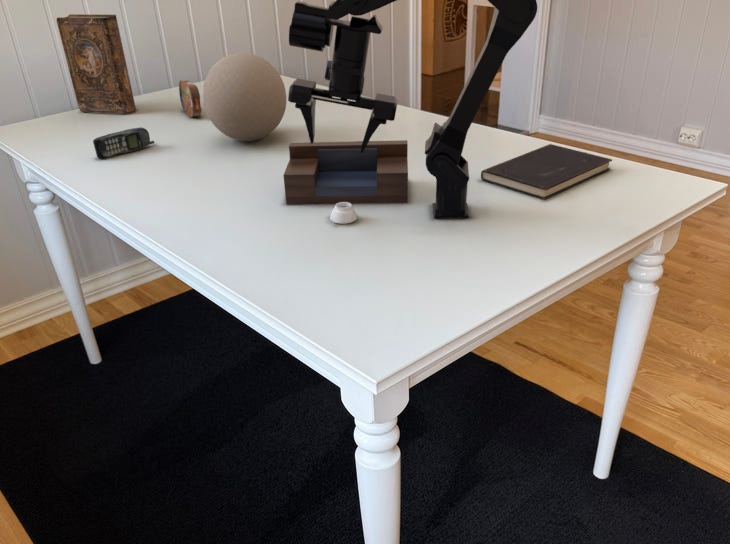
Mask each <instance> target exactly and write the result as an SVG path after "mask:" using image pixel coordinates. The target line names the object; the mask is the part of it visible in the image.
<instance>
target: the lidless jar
mask: <svg viewBox="0 0 730 544" xmlns="http://www.w3.org/2000/svg"><path fill="white" fill-rule="evenodd" d="M352 205H353V204H352V203H348V202H339V203H337V204H335V205H334V207H333V209H332V211H331V213H330V215H329V217H330V221H331V222H333V223H336V224H338V225H339V224H340V225H347V224H351V223H353V222H355V221H357V219H358V214H357V212H356V210H355V208H354V207H353V206H352Z"/></svg>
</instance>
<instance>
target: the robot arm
mask: <svg viewBox="0 0 730 544" xmlns="http://www.w3.org/2000/svg"><path fill="white" fill-rule="evenodd" d="M397 1H398V0H335V1H333V0H332V1H331V2H330V4H328V7H326V6H325V7H324V6H319V5H314V4H309V3H307V2H306V1H301V0H297V1H296V2H295V3H294V9H293V13H292V18H291V23H290V25H289V30H288V44H289V45H288V46H291V47H294V48H301V49H305V50H310V51H316V52H321V53H323V52H324V50H325V48H326V47H329V48H330V47H331V44H332V42H333V34H334V27H335V26H336V28H335V37H334V43H333V44H334V45H333V53H332V59H331V60H327V61H326V65H325V71H324V80H325V81H329V83H328V89H323V88H319V87H317V81H313V80H309V79H303V78H299V77H298V78H296V79H294V80H293V81H292V83H291V84H290V85H289V89H288V96H287V97H288V98H287V101H288V102H289V103H293V104H295V105H294V108H296V109H299V110H300V112H301V115H302V117H303V120H304V122H305V126H306V129H307V134H308V138H309V142H311V144H313V142H315V136H316V135H315V133H316V104H317V101H321V102H326V103H331V104H336V105H343V106H347V107H353V108H358V109H365V110H369V111H371V113H370V116H369V120H368V123H367V126H366V129H365V133H364V136H363V139H362V141H363V142H362V146H361V153H363V151H364V150H365V148H366V146H367V144H368V142H369V141H371V139H372V136H373V135H374V134H375V132H376V130H377V129H378V128H379V127H380V125H386V124H387V121H389V122H392V121H393V122H394V121H395V119H396V113H397V109H398V108H397V107H398V103H399V100H398V98H397V97H396V96H394V95H390V94H383V93H378V92H376V94H375V98H371V97H367V96H362V95H363V91H364V86H365V71H366V65H367V60H368V59H367V58H368V52H369V45H370V38H371V33H372V34H377V35H381V34H382V32H383V30H384V27H383V25H382V24H381V23H380V21H379V20H378V17H377V15H376V14H373V15H372V16H371V17H369V18H365V17H360V16H364V15H367V14H369V13H371V12H373V11H376V10H379V9H381V8H384V7H386V6H387V5H390V4H392V3H395V2H397ZM487 2H489V4H491V5H492V6H493V7H494V8H495V9H494V11H493V15H492V18H491V21H490V26H489V30H488V33H487V37H486V41H485V43H484V45H483V47H482V49H481V51H480V53H479V55H478V57H477V59H476V61H475V64H474V65H473V67H472V69H471V71H470V74H469V76H468V78H467V79H466V82H465V84H464V85H463V88H462V90H461V92H460V94H459V96H458V98H457V100H456V103H455V104H454V107H453V108H452V111H451V113H450V115H449V116H448V118H447V119H446V121H444V123H443V124H442V125H440V124H439V123H437V122H434V124H433V127H432V131H431V135H429V137H428V138H427V139H426V140H425V142H424V144H425V145H424V154H425V167H426V170H427V171H428V173H429V174H430V175H431V176H432V177H433V178H434V177H435V180H436V183H435V202H433V203H432V214H433V218H434V219H469V218H470V212H469V211H470V210H469V207H468V206H469V205H468V203H467V200H468V183H469V180H470V170H469V161H468V160H467V159H466V158H464V156H463V155H462V154H463V150H464V146H465V143H466V138H467V134H468V132H469V130H470V127H471V125H472V124H473V122H474V119H475V117H476V115H477V113H478V112H479V110H480V108H481V106H482V104H483V101H484V99H485V98H486V96H487V94H488V92H489V90H490V88H491V87H492V84H493V82H494V80H495V78H496V76H497V74H498V73H499V70H500V68H501V66H502V64H503V63H504V61H505V58H506V56H507V55H508V53H509V52H510V51H511V50H512V49H513V47H514V46H515V45H516V44H517V43H518V41H520V39H521V38H522V36H523V35H525V32H526V31H527V30H528V28H529V27H530V26H531V24H532V23H533V21H534V20H535V18H536V16H537V13H538V1H537V0H487ZM348 15H351V18H350V20H345V19H342V18H344V17H346V16H348Z"/></svg>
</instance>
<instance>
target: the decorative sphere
mask: <svg viewBox="0 0 730 544" xmlns="http://www.w3.org/2000/svg"><path fill="white" fill-rule="evenodd" d="M286 90H287V89H286V86H285V83H284V81H283V78H282V76H281V75H280V73H279V72H278V70H277V69H276V67H274V65H272V64H271V63H270V62H269V61H268V60H266V59H265V58H263V57H262V56H259V55H256V54H254V53H249V52H235V53H231V54H228V55H226V56H224V57H222V58H220V59H219V60H218V61H217V62H215V63H214V65H213V66H212V67H211V68H210V69H209V71H208V72H207V74H206V77H205V79H204V83H203V88H202V100H203V101H202V102H203V106H204V109H205V113H206V115H207V117H208V119H209V120H210V122H211V124H212V125H213V126H214V127H215V128H216V129H217V130H218V131H219V132H221V133H222V134H223V135H225V136H226V137H228V138H231V139H233V140H236V141H241V142H253V141H258V140H261V139H263V138H265V137H267V136H269V135H270V134H272V133H273V132H274V131H275V130H276V129H277V128H278V126H279V125H280V123H281V121H282V120H283V118H284V115H285V112H286V108H287V91H286Z"/></svg>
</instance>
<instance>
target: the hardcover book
mask: <svg viewBox="0 0 730 544" xmlns="http://www.w3.org/2000/svg"><path fill="white" fill-rule="evenodd" d="M612 161H613V159H612V158H608V157H604V156H600V155H596V154H592V153H588V152H584V151H580V150H575V149H572V148H569V147H568V148H567V147H565V146H564V147H563V146H559V145H555V144H552V143H549V144H546V145H544V146H541V147H539V148H536V149H534V150H531V151H528V152H526V153H523V154H521V155H518V156H516V157H513V158H510V159H507V160H505V161H503V162H500V163H498V164H495V165H492V166H490V167H487V168H485V169H483V170H481V172H480V179H481V180H482V182H485V183H488V184H492V185H494V186H499V187H502V188H504V189H508V190H511V191H514V192H518V193H520V194H524V195H527V196H531V197H533V198H537V199H540V200H543V201H545V200H548V199H550V198H551V197H555V196H557V195H559V194H561V193H563V192H565V191H568V190H569V189H572V188H574V187H576V186H578V185H581V184H583V183H585V182H588V181H590V180H591V179H593V178H596V177H598V176H600V175H603V174H605V173H606V172H609V171H611V168H610V162H612Z"/></svg>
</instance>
